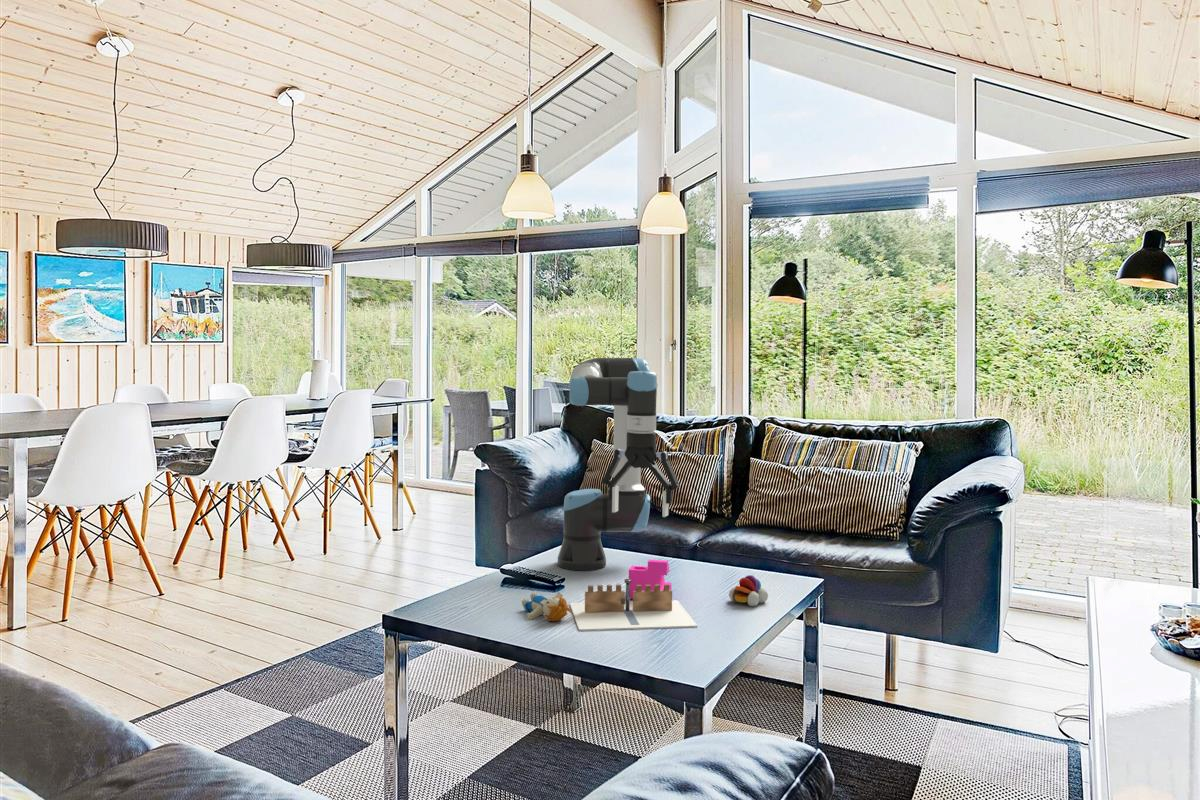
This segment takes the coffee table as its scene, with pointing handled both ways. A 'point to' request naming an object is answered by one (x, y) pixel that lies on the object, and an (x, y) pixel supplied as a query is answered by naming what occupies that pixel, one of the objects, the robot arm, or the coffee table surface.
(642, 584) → the bracket
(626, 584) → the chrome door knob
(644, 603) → the fence fixed
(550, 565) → the coffee table surface
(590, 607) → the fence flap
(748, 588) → the rainbow petal cluster
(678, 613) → the card
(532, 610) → the toy
